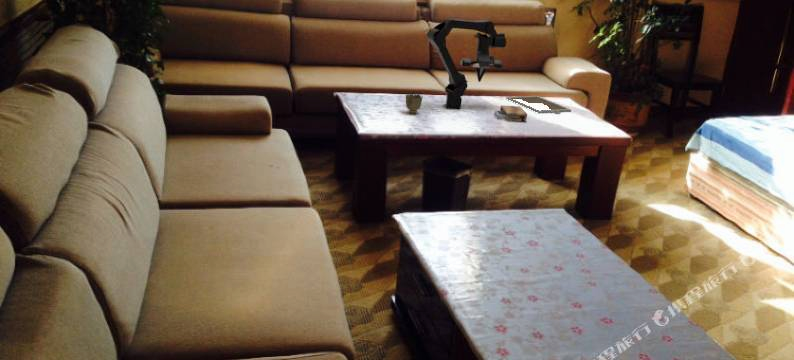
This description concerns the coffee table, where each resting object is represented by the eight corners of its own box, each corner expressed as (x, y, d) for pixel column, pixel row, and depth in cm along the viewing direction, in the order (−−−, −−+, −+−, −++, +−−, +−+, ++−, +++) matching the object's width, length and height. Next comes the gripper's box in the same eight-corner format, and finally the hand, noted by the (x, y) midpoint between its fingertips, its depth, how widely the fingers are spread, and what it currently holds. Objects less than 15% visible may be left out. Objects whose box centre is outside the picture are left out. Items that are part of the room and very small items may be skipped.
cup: (423, 115, 284) (425, 97, 282) (408, 115, 282) (409, 97, 279) (417, 110, 291) (418, 93, 288) (401, 111, 288) (403, 93, 285)
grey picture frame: (537, 95, 333) (575, 111, 308) (536, 98, 333) (574, 114, 308) (506, 97, 325) (542, 112, 300) (505, 100, 325) (542, 116, 300)
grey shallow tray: (497, 119, 287) (498, 114, 286) (494, 114, 295) (494, 110, 294) (519, 120, 288) (520, 116, 287) (515, 115, 295) (516, 111, 295)
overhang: (506, 121, 285) (507, 112, 284) (499, 113, 297) (500, 105, 296) (526, 122, 286) (527, 114, 284) (518, 114, 298) (519, 106, 297)
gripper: (466, 49, 288) (462, 84, 293) (507, 52, 290) (502, 86, 295) (462, 45, 298) (458, 78, 304) (501, 48, 300) (497, 81, 305)
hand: (479, 81), depth 302 cm, fingers closed
